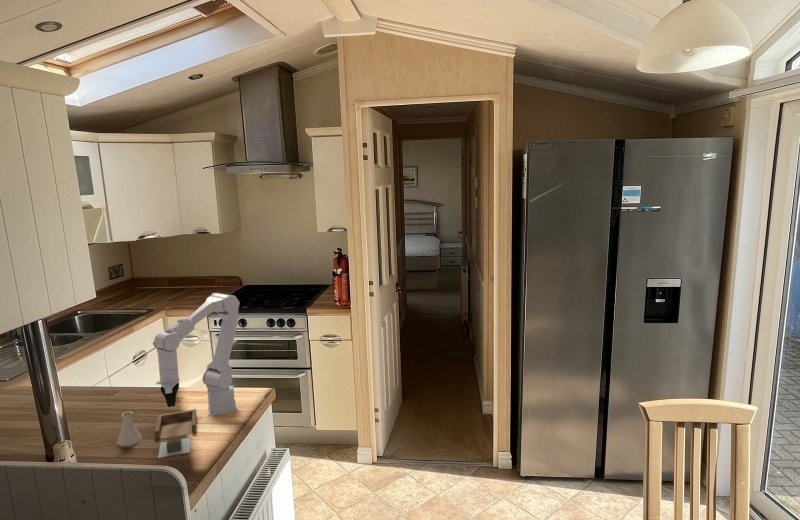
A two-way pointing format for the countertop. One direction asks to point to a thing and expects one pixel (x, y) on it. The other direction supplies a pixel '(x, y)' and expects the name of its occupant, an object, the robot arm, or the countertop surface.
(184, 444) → the cover plate
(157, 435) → the box
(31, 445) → the countertop surface
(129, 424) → the flask
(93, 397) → the countertop surface
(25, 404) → the countertop surface
